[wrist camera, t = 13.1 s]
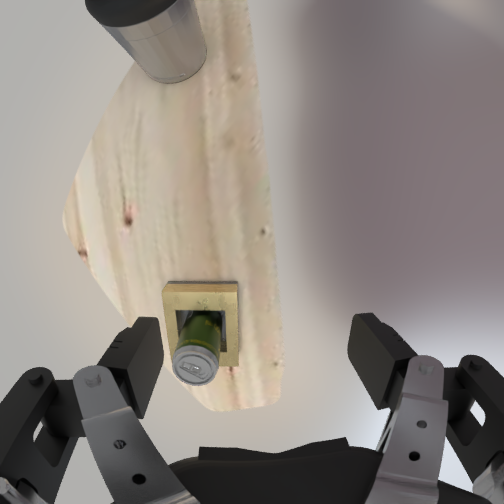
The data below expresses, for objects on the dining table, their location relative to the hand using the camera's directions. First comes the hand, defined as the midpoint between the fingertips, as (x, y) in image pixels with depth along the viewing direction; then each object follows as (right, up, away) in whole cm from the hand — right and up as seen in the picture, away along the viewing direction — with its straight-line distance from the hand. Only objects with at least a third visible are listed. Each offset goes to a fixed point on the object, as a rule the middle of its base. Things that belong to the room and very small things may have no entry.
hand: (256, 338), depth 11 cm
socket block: (-7, -7, +30) cm, 32 cm away
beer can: (-7, -6, +30) cm, 31 cm away
